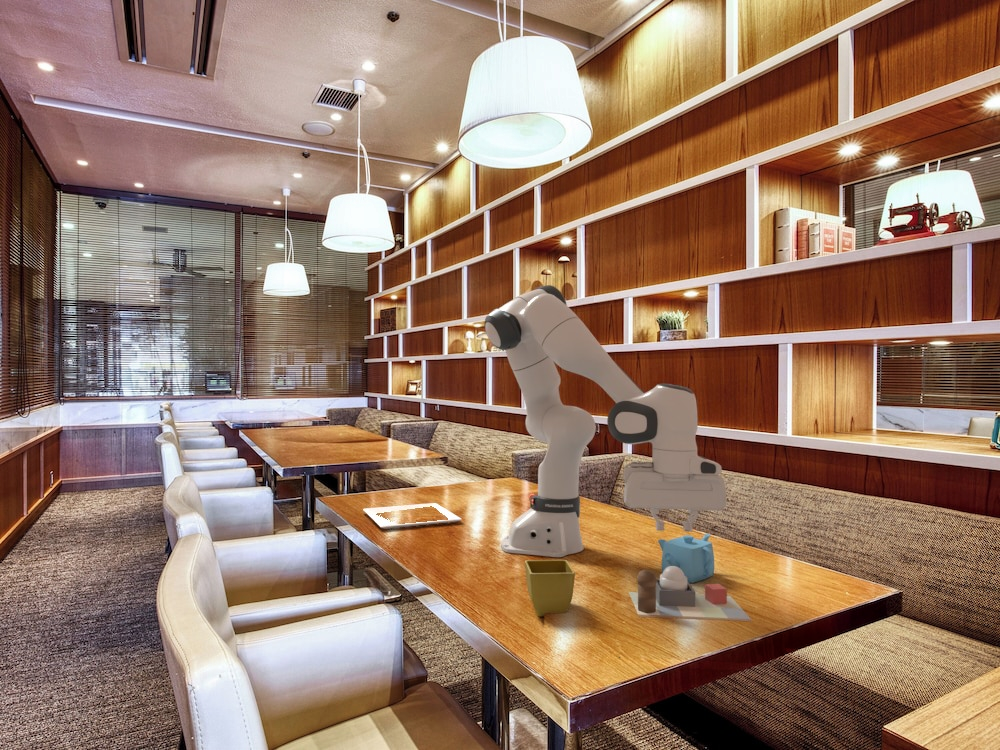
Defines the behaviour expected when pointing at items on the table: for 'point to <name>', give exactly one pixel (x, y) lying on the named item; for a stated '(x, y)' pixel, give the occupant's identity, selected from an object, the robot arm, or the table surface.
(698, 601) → the board
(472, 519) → the table surface
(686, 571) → the teapot
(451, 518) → the white frame
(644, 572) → the pawn
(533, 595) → the flower pot
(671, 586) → the dome
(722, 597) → the red cube
